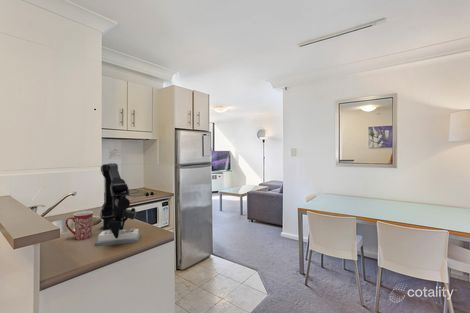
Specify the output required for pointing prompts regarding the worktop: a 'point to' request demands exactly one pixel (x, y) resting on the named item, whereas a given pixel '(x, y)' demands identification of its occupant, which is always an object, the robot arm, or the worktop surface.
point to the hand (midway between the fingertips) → (119, 234)
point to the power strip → (122, 235)
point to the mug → (81, 224)
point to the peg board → (99, 243)
